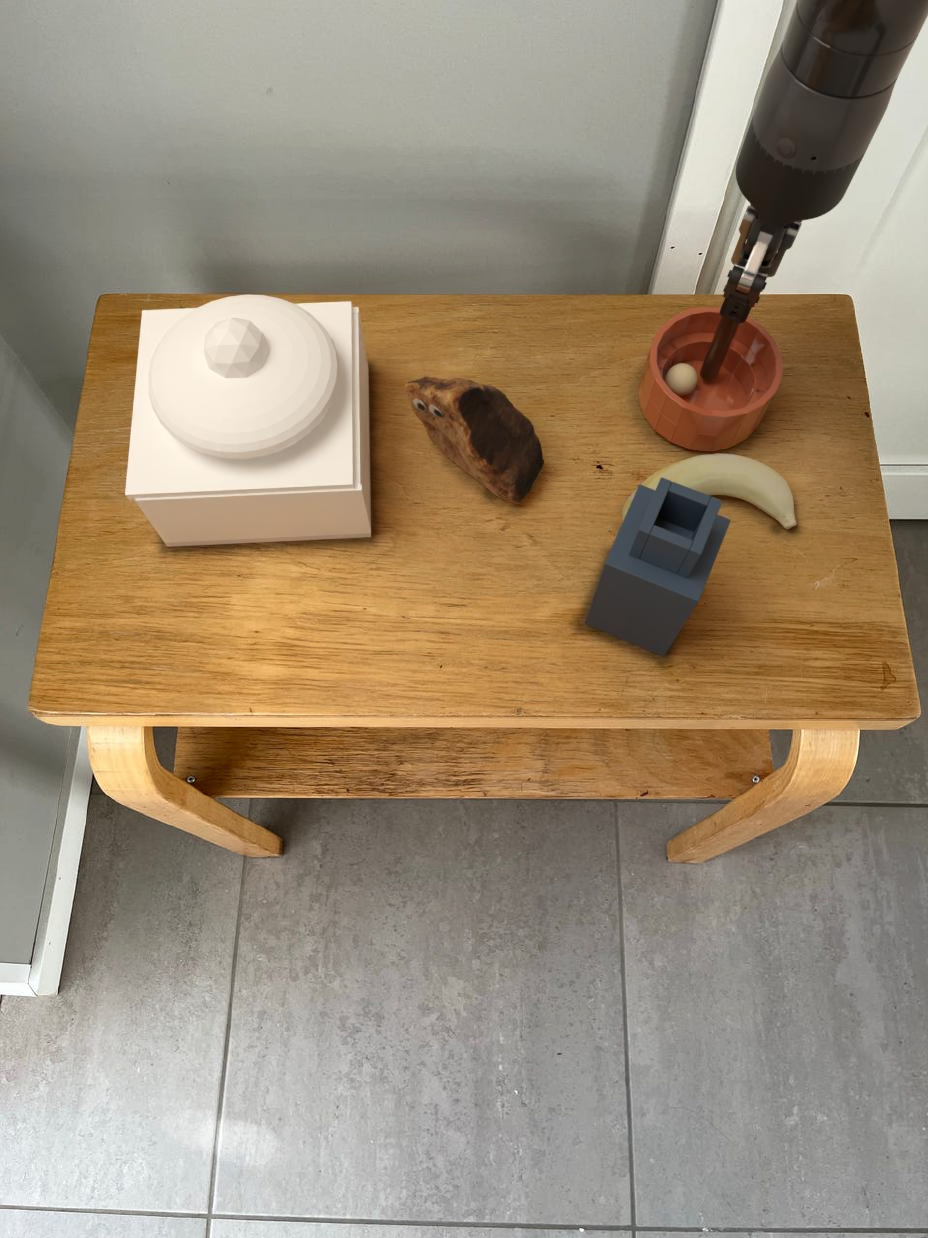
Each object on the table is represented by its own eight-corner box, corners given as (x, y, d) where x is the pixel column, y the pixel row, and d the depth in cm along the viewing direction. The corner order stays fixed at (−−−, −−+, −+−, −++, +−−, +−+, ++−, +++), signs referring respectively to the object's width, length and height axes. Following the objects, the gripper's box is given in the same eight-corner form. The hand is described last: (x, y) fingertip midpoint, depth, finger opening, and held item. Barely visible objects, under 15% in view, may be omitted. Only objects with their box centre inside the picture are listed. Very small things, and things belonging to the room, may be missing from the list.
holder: (692, 585, 77) (747, 491, 62) (663, 657, 74) (713, 578, 59) (614, 553, 78) (650, 454, 63) (583, 623, 75) (613, 538, 60)
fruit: (607, 476, 80) (612, 457, 77) (775, 458, 81) (787, 438, 78) (621, 550, 78) (628, 533, 75) (795, 531, 78) (808, 513, 75)
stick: (719, 369, 83) (768, 257, 70) (713, 383, 82) (761, 272, 69) (703, 363, 83) (747, 250, 70) (697, 377, 82) (741, 265, 69)
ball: (697, 382, 83) (705, 363, 81) (687, 406, 82) (694, 387, 80) (668, 371, 84) (675, 352, 81) (658, 395, 83) (664, 376, 80)
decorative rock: (405, 445, 81) (396, 371, 71) (447, 400, 83) (444, 322, 73) (512, 520, 79) (518, 454, 69) (553, 471, 80) (566, 400, 70)
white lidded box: (371, 536, 78) (349, 435, 63) (160, 547, 78) (88, 447, 63) (369, 366, 85) (348, 237, 70) (173, 374, 84) (111, 247, 69)
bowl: (777, 375, 84) (799, 333, 78) (738, 472, 80) (759, 435, 75) (662, 334, 86) (676, 289, 80) (619, 427, 82) (631, 387, 77)
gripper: (840, 217, 55) (754, 387, 71) (899, 69, 60) (806, 261, 76) (722, 178, 56) (664, 354, 72) (789, 34, 61) (720, 231, 77)
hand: (737, 305), depth 74 cm, fingers closed on stick, 1 cm apart
